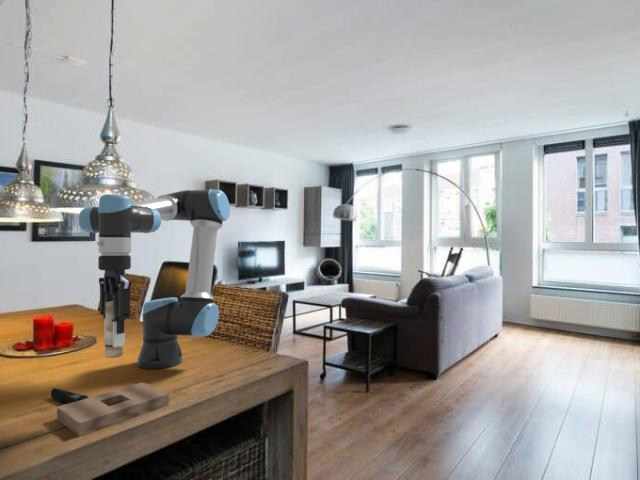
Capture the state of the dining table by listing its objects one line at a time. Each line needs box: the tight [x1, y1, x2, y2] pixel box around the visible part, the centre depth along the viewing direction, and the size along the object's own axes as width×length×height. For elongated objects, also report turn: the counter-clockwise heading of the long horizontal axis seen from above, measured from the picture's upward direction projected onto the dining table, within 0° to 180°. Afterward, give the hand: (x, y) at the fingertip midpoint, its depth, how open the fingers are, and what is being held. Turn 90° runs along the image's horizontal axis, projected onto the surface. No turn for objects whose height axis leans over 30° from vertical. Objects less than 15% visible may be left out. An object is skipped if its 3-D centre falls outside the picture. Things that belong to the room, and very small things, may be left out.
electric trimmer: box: [50, 387, 90, 404], centre depth 110 cm, size 4×16×3 cm, turn 62°
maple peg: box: [104, 301, 124, 359], centre depth 103 cm, size 4×4×14 cm
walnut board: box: [56, 382, 170, 437], centre depth 104 cm, size 22×14×3 cm, turn 141°
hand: (114, 344), depth 103 cm, fingers closed on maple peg, 4 cm apart
